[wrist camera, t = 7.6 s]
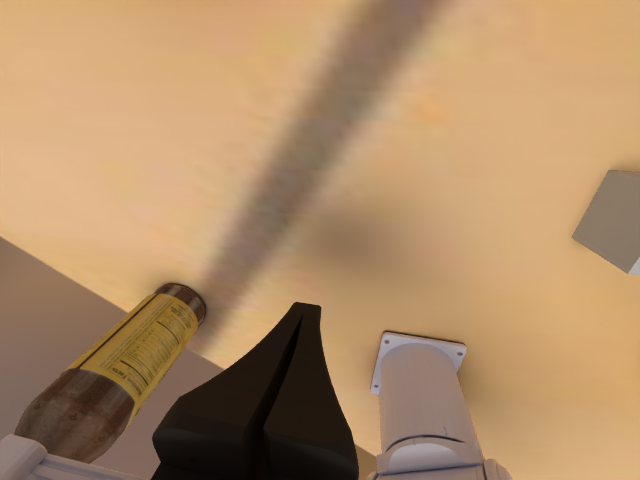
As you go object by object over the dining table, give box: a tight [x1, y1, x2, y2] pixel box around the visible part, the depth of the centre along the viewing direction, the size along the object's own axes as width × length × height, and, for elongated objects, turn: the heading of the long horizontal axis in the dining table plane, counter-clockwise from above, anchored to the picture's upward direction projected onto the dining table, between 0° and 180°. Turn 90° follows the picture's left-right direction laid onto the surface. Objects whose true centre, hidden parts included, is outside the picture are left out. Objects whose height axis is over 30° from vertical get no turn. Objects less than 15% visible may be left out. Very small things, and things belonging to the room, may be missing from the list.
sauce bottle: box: [14, 284, 205, 464], centre depth 21 cm, size 6×6×20 cm
